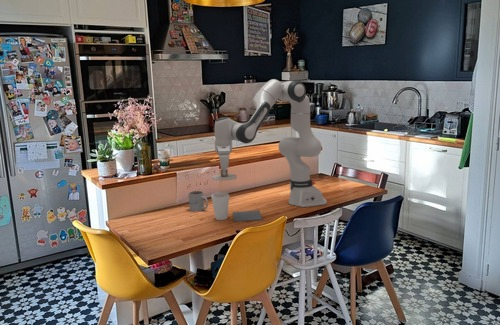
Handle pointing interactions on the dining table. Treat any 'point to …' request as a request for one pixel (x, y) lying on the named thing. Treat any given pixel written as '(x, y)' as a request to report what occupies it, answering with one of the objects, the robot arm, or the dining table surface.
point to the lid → (224, 176)
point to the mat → (247, 216)
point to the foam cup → (220, 205)
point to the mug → (197, 201)
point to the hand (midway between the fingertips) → (224, 174)
